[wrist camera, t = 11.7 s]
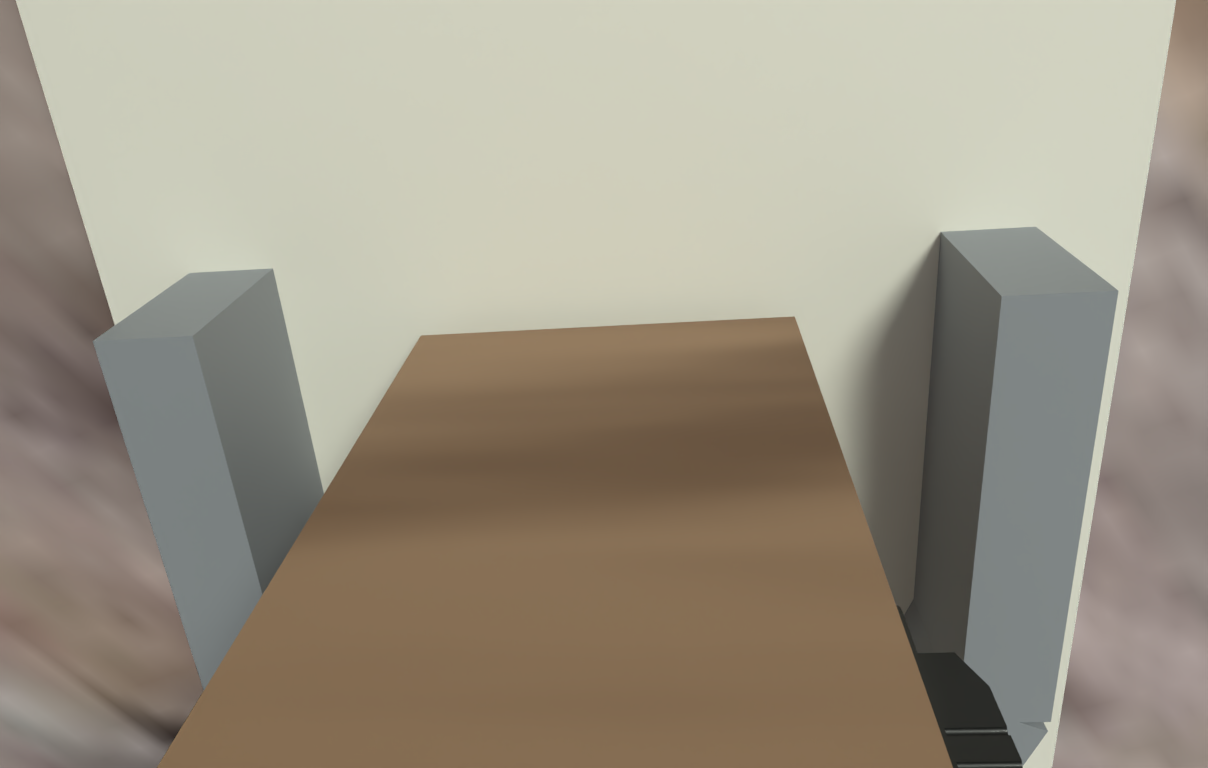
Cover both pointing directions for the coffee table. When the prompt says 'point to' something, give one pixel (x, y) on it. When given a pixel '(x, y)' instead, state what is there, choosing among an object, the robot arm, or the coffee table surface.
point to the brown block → (580, 573)
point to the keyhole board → (625, 251)
